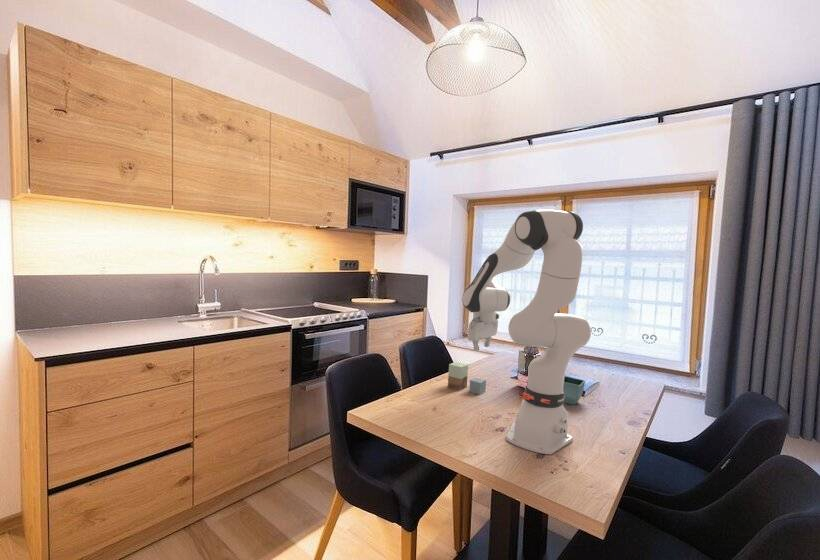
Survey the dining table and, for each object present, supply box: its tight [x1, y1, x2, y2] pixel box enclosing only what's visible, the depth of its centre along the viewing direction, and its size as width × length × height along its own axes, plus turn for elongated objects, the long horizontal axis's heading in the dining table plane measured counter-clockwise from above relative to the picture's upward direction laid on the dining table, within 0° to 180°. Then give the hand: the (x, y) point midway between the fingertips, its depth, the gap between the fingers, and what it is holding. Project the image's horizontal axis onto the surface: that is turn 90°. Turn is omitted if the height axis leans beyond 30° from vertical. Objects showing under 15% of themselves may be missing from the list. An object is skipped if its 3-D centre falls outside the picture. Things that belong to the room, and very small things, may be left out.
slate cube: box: [468, 377, 487, 395], centre depth 159 cm, size 5×5×5 cm
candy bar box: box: [516, 349, 543, 377], centre depth 166 cm, size 11×5×16 cm, turn 23°
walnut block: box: [447, 375, 468, 391], centre depth 163 cm, size 6×6×5 cm
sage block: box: [448, 361, 469, 379], centre depth 163 cm, size 6×6×5 cm
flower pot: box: [563, 375, 586, 406], centre depth 152 cm, size 9×9×9 cm
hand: (481, 348), depth 158 cm, fingers open, 8 cm apart
